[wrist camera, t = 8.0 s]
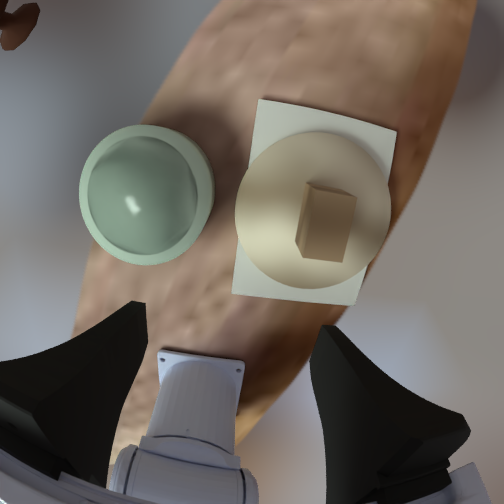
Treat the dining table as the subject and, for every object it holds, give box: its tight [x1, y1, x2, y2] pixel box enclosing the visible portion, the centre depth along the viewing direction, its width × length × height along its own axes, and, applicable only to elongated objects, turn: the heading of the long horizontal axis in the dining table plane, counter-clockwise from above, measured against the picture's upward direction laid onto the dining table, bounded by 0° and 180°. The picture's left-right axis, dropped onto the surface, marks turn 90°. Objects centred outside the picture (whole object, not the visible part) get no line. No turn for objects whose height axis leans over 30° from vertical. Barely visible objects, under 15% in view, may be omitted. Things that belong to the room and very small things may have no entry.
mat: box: [231, 99, 397, 306], centre depth 20 cm, size 14×10×1 cm
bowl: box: [79, 125, 215, 265], centre depth 18 cm, size 9×9×3 cm
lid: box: [235, 132, 391, 289], centre depth 18 cm, size 11×11×4 cm
